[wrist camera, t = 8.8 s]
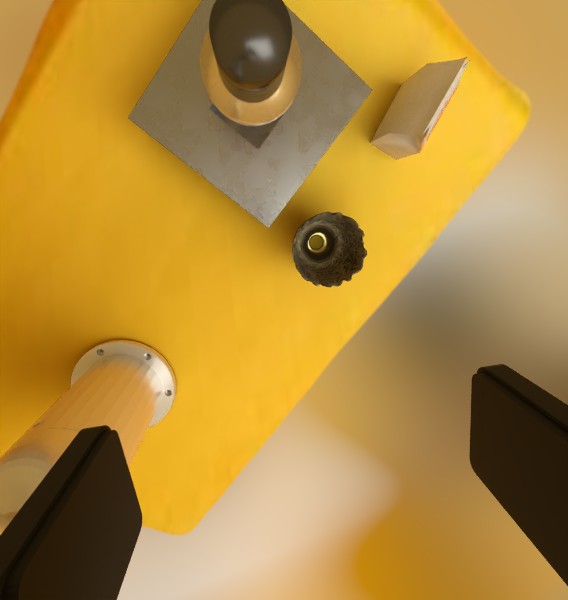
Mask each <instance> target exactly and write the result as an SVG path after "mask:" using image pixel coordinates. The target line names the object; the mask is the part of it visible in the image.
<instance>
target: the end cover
mask: <svg viewBox="0 0 568 600" xmlns="http://www.w3.org/2000/svg"><path fill="white" fill-rule="evenodd" d="M200 71H201V76H202V80H203V83H204V86H205V88H206V91H207V93H208V95H209V97H210V99H211V101H212V102H213V104H214V105H215V106H216V108H217V109H218V110H219V111H220V112H221V113H222V114H223V115H225V116H226V117H227V118H229V119H231V120H232V121H234V122H237V123H239V124H243V125H246V126H260V125H265V124H268V123H270V122H272V121H274V120H276V119H278V118H279V117H280V116H282V115H283V114H284V113H285V112H286V111H287V109H288V108H289V107H290V105H291V104H292V102H293V100H294V98H295V96H296V94H297V91H298V88H299V85H300V81H301V76H302V59H301V53H300V49H299V45H298V43H297V40H296V38H295V36H294V35H293V33H292V24H291V19H290V15H289V12H288V10H287V8H286V6H285V4H284V2H283V1H282V0H216V1H215V3H214V5H213V8H212V10H211V14H210V19H209V29H208V31H207V33H206V34H205V37H204V40H203V42H202V46H201V51H200Z"/></svg>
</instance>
